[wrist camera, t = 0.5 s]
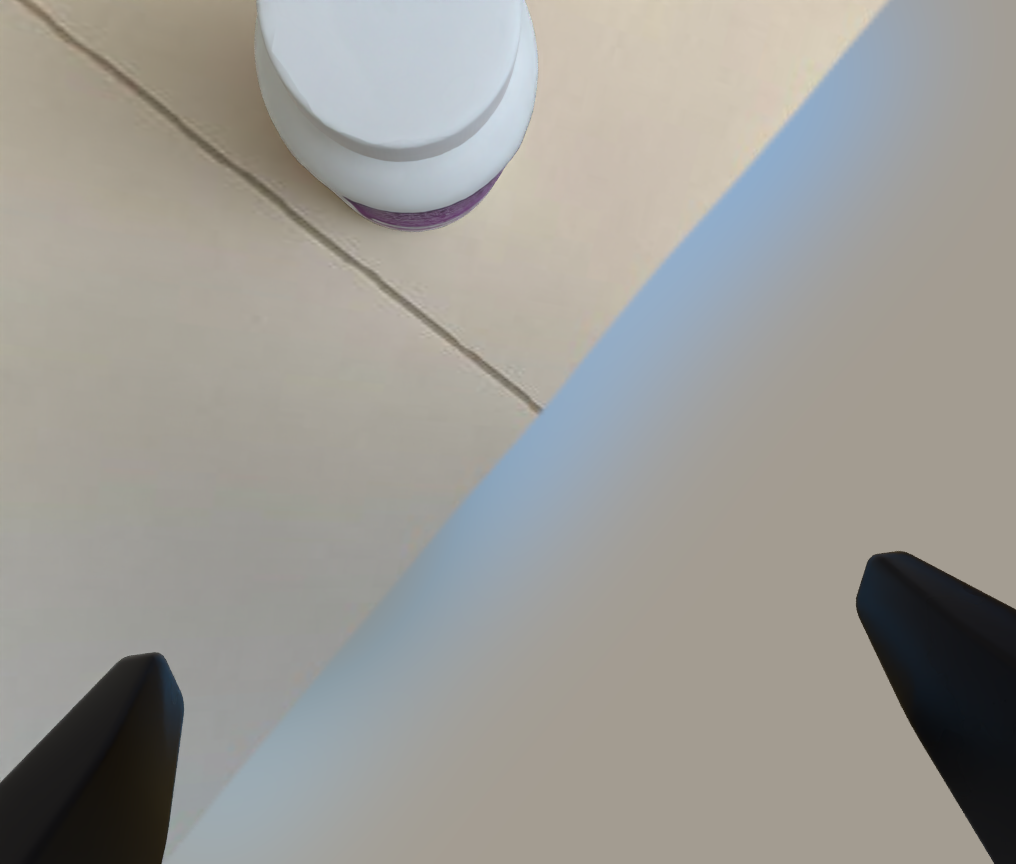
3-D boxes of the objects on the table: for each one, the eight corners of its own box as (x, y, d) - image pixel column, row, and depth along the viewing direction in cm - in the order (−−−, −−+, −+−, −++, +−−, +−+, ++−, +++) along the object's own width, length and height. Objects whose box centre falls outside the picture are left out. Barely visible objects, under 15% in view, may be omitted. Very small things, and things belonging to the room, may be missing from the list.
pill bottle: (538, 103, 20) (638, -48, 11) (445, 267, 21) (461, 262, 11) (369, -13, 19) (314, -297, 9) (277, 165, 19) (140, 64, 10)
